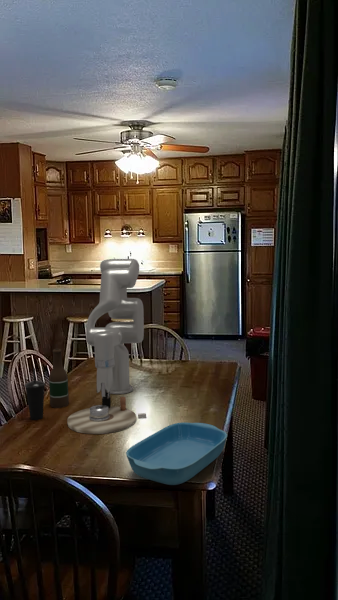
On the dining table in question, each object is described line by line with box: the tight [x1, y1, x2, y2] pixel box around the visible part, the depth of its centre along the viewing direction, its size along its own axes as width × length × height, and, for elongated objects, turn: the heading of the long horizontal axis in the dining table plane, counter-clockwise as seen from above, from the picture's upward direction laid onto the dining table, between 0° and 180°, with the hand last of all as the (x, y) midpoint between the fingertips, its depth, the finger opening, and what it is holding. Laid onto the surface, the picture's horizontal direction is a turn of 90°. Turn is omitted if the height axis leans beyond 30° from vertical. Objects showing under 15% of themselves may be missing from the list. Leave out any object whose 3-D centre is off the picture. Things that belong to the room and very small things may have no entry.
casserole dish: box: [125, 421, 228, 486], centre depth 161 cm, size 37×22×7 cm, turn 146°
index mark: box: [137, 412, 147, 419], centre depth 203 cm, size 3×1×2 cm, turn 102°
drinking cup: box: [24, 367, 46, 421], centre depth 204 cm, size 8×8×20 cm
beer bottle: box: [48, 348, 70, 409], centre depth 218 cm, size 8×8×24 cm
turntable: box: [66, 396, 137, 435], centre depth 199 cm, size 26×26×6 cm
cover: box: [89, 404, 110, 422], centre depth 198 cm, size 8×8×4 cm
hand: (106, 407), depth 208 cm, fingers closed
